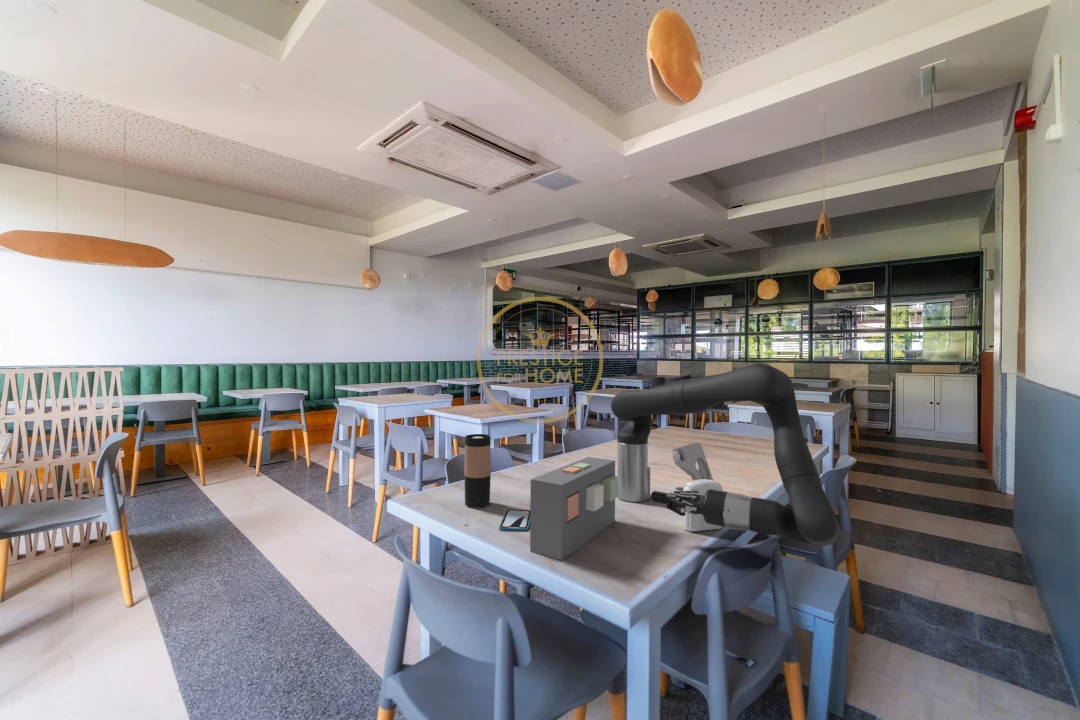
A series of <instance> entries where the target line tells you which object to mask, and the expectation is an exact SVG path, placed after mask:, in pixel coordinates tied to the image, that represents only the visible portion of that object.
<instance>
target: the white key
mask: <svg viewBox="0 0 1080 720" xmlns="http://www.w3.org/2000/svg"><path fill="white" fill-rule="evenodd" d="M603 500H604V485H601V484H595V483H593V484H591V485H589V486H587V487H586V510H589V511H596V510H598V509H599V508H601V507H602V506H603Z"/></svg>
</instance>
